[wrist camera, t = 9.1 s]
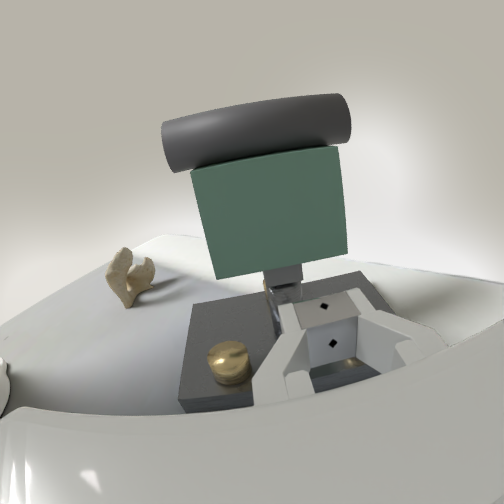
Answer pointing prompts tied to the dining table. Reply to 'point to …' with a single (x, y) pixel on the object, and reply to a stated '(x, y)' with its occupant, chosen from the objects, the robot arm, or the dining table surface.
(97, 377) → the dining table surface
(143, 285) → the bone
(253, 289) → the dining table surface
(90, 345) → the dining table surface
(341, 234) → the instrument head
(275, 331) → the plate
